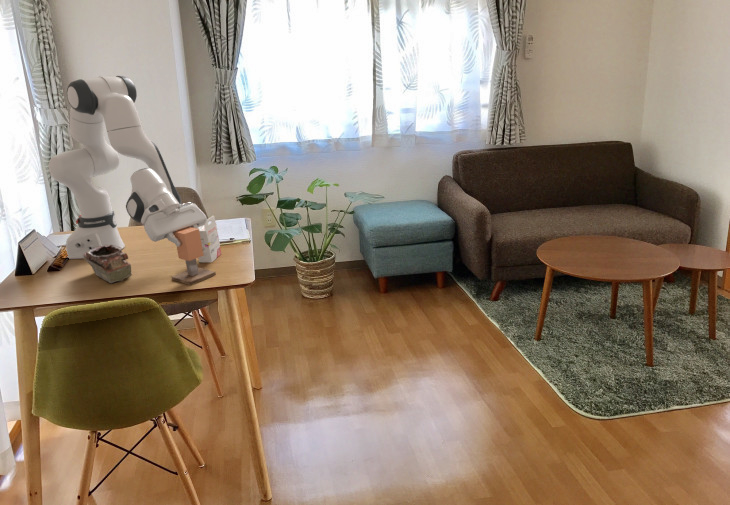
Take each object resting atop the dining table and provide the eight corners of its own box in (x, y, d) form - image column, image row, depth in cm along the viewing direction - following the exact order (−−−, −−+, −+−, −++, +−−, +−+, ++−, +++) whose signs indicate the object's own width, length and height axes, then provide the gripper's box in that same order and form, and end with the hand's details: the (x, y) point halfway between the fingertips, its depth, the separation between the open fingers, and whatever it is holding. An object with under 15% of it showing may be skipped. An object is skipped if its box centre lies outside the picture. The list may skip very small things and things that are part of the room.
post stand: (171, 279, 203) (167, 256, 201) (197, 269, 211) (193, 246, 208) (190, 285, 197) (185, 261, 195) (215, 274, 204) (211, 251, 202)
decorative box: (93, 290, 200) (86, 262, 196) (77, 275, 215) (70, 248, 211) (134, 278, 207) (128, 251, 204) (116, 264, 222) (110, 238, 219)
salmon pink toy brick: (178, 258, 201) (173, 231, 198) (193, 252, 205) (188, 226, 202) (189, 261, 197) (184, 234, 194) (203, 255, 201) (198, 229, 198)
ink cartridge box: (209, 254, 224) (202, 214, 219) (221, 254, 223) (215, 214, 218) (198, 262, 217) (191, 222, 212) (211, 262, 216) (204, 222, 211)
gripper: (190, 206, 211) (212, 238, 209) (136, 223, 197) (159, 257, 194) (195, 195, 207) (218, 227, 204) (140, 211, 193) (165, 245, 190)
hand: (189, 241), depth 199 cm, fingers closed on salmon pink toy brick, 6 cm apart
